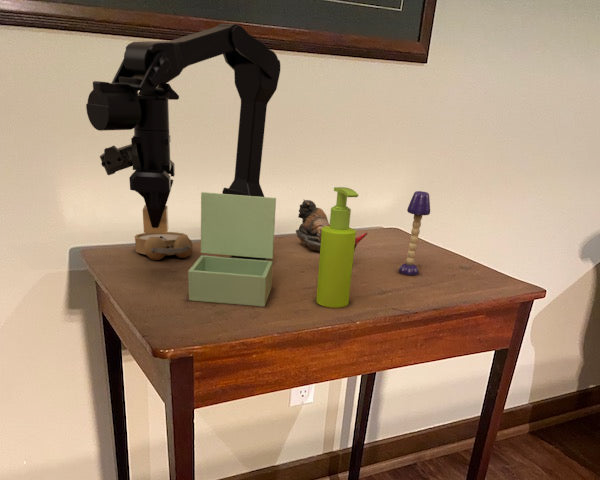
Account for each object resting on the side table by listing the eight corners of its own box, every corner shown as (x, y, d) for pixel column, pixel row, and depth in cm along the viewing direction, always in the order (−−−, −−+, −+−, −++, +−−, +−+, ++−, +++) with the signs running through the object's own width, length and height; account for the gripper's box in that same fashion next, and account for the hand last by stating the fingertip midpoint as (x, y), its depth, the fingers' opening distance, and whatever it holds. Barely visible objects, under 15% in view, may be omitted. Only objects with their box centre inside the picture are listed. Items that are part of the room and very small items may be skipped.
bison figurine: (338, 253, 142) (342, 208, 137) (311, 255, 139) (314, 209, 134) (314, 240, 151) (317, 198, 147) (288, 242, 148) (290, 199, 144)
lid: (275, 198, 109) (276, 197, 110) (201, 192, 110) (202, 192, 111) (272, 258, 114) (273, 258, 114) (200, 253, 114) (201, 252, 115)
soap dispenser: (327, 311, 108) (337, 192, 98) (310, 298, 113) (319, 184, 104) (356, 308, 110) (370, 191, 100) (339, 295, 115) (350, 184, 106)
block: (145, 227, 111) (144, 204, 109) (168, 228, 112) (167, 205, 110) (143, 232, 108) (142, 209, 106) (167, 233, 108) (166, 210, 107)
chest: (264, 306, 108) (265, 277, 105) (188, 300, 108) (188, 270, 105) (271, 288, 117) (272, 260, 114) (201, 282, 117) (201, 255, 115)
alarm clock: (178, 230, 140) (200, 234, 127) (180, 252, 141) (201, 258, 129) (128, 233, 135) (146, 237, 122) (130, 256, 136) (148, 262, 124)
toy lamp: (424, 273, 132) (437, 193, 124) (412, 277, 129) (424, 195, 121) (405, 268, 134) (417, 189, 127) (393, 272, 131) (404, 191, 123)
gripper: (109, 121, 109) (116, 212, 116) (92, 132, 93) (101, 236, 100) (173, 125, 111) (176, 214, 118) (167, 136, 94) (171, 238, 102)
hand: (156, 224), depth 109 cm, fingers closed on block, 4 cm apart
